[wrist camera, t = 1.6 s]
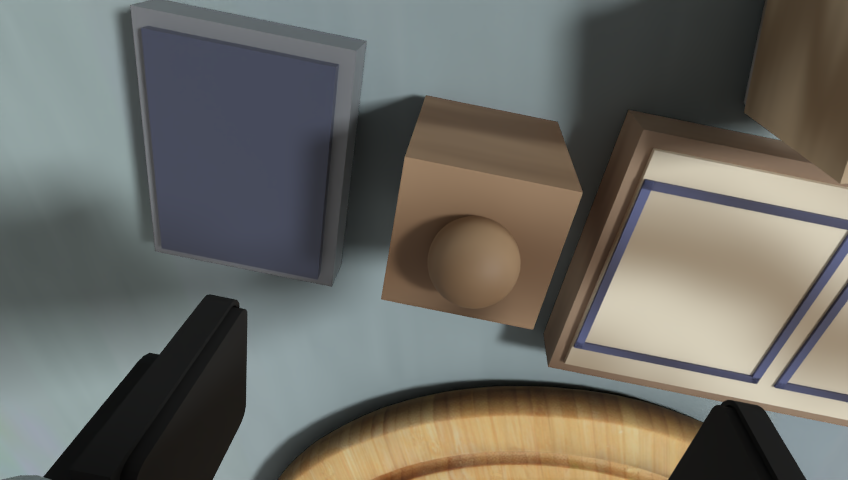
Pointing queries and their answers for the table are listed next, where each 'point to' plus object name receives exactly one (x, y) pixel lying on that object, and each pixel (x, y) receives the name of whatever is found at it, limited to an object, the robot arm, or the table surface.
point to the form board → (711, 272)
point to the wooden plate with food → (504, 438)
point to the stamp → (480, 213)
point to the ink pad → (247, 138)
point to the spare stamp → (804, 80)
